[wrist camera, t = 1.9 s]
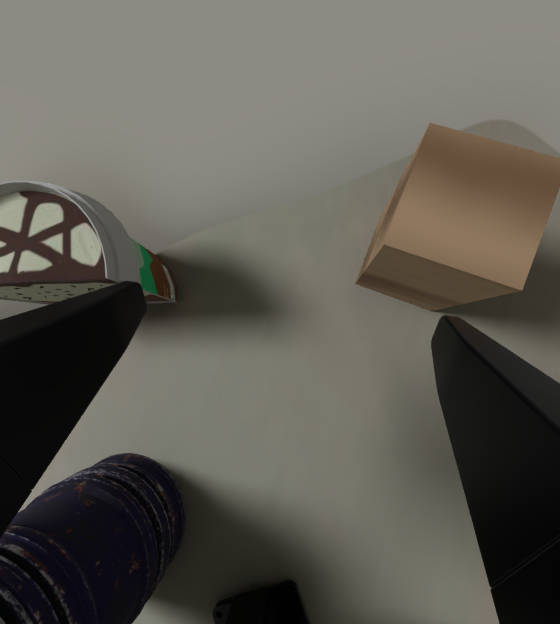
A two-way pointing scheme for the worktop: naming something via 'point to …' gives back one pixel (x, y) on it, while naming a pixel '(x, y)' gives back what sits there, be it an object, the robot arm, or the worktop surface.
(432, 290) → the tan rectangular block
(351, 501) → the worktop surface
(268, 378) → the worktop surface
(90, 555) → the storage jar
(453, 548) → the worktop surface
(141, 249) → the food container
